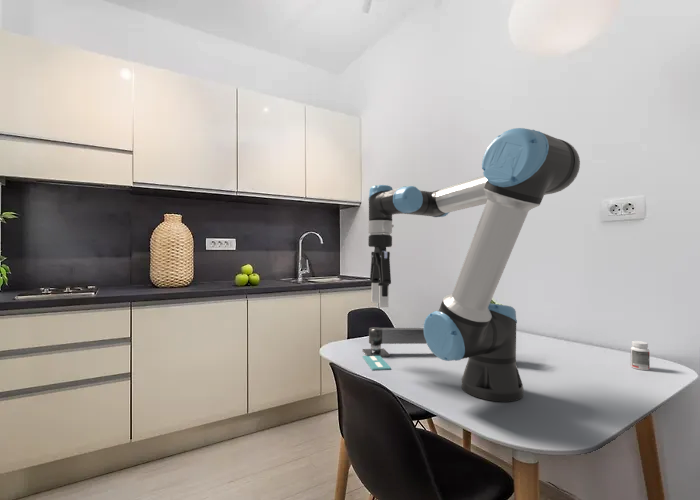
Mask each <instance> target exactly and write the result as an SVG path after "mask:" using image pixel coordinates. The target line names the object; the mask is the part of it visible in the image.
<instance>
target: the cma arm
mask: <svg viewBox="0 0 700 500" xmlns="http://www.w3.org/2000/svg"><path fill="white" fill-rule="evenodd" d="M368 343H369V344H370V345H371V344H376V345H378V344H381V345H387V344H388V345H392V344H394V345H396V344H397V345H402V344H406V345H407V344H410V345H412V344H413V345H415V344H418V345H419V344H421V345H422V344H426V345H427V343H426V339H425V337H424V327H375V326H374V327H373V326H372V327H369V328H368Z"/></svg>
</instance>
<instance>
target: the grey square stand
mask: <svg viewBox="0 0 700 500" xmlns="http://www.w3.org/2000/svg"><path fill="white" fill-rule="evenodd" d="M362 352H364V353H365V354H364V353H363V354H364V356H381V357H382V358H388V357H389V358H391V355H390V353H389V352H388V351H387V350H386V349H385V348H382V344H378V345H376V344H370V348H362Z"/></svg>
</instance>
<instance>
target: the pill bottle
mask: <svg viewBox="0 0 700 500" xmlns="http://www.w3.org/2000/svg"><path fill="white" fill-rule="evenodd" d="M648 348H649V343H648V342H646V341H641V340H632V341H631V347H630V367H631V368H633V369H635V370H639V371H649V370H650V364H651V363H650V360H651V359H650V350H649V349H648Z"/></svg>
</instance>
